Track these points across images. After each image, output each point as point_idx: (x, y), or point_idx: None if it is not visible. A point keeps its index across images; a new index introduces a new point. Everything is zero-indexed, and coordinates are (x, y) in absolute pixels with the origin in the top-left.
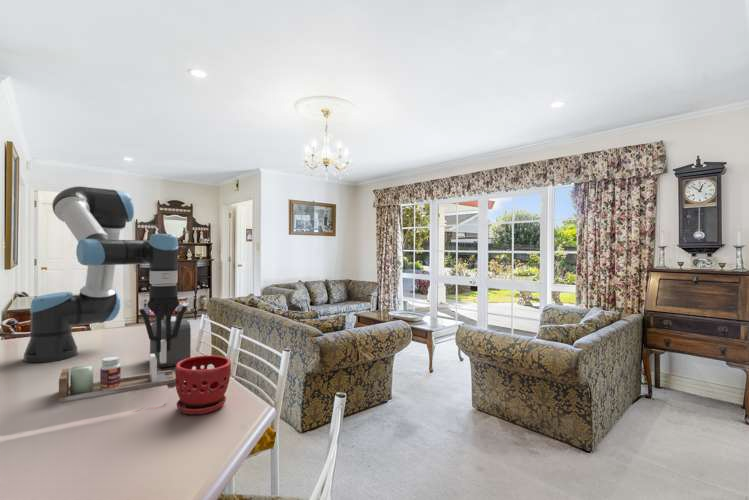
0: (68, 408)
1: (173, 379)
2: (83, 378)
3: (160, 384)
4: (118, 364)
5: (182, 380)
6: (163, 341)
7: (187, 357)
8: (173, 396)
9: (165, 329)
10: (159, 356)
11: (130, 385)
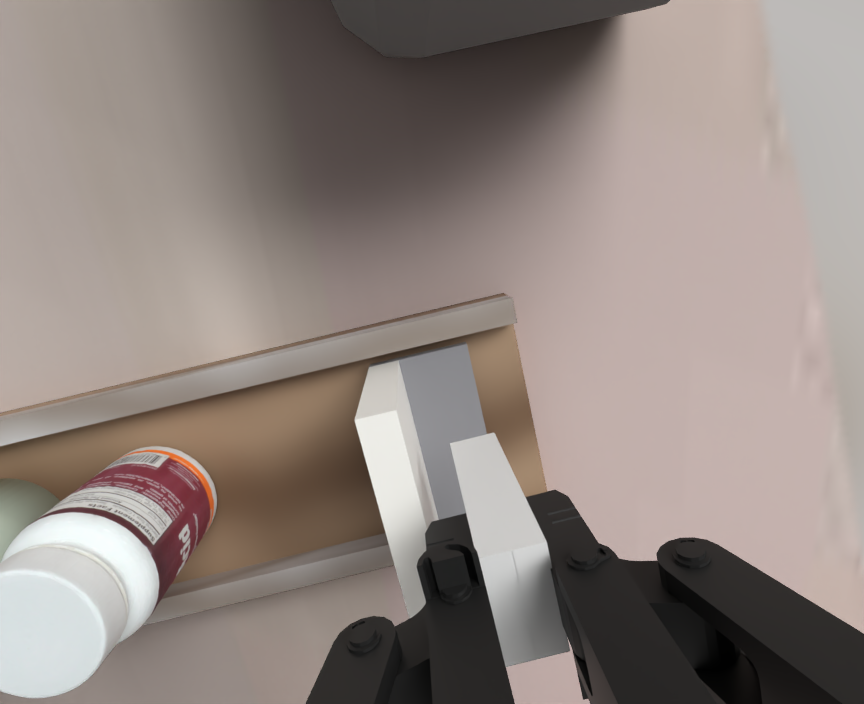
0: None
1: None
2: None
3: None
4: (134, 595)
5: None
6: (532, 651)
7: (641, 9)
8: (542, 666)
9: (605, 688)
10: (393, 33)
11: (278, 486)
